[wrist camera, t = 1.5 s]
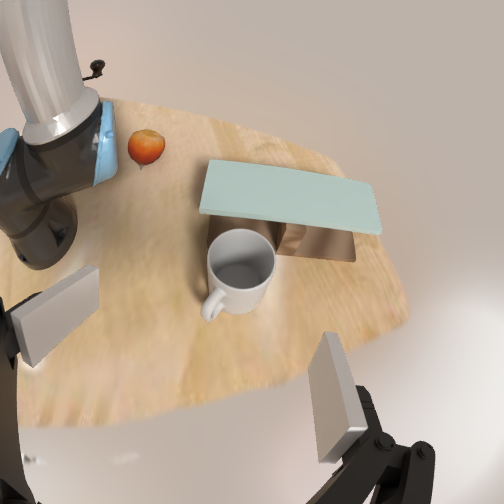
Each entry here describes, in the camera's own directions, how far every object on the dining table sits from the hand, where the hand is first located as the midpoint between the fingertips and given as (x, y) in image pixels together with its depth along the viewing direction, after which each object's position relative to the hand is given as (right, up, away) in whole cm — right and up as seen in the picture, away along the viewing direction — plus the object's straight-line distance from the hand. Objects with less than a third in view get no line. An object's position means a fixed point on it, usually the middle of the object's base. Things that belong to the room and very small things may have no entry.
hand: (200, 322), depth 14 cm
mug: (-1, -3, +28) cm, 28 cm away
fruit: (-19, +24, +39) cm, 50 cm away
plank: (+9, +12, +28) cm, 32 cm away
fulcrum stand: (+8, +8, +35) cm, 37 cm away
